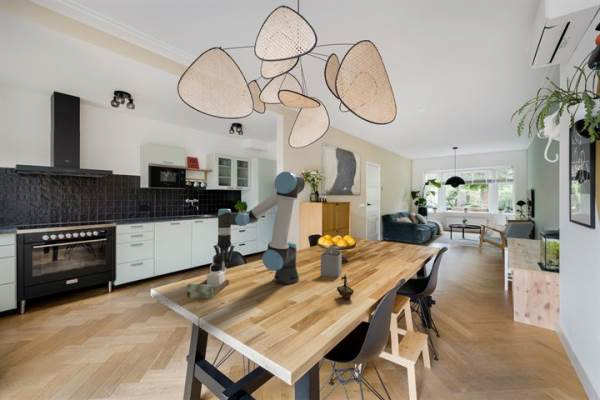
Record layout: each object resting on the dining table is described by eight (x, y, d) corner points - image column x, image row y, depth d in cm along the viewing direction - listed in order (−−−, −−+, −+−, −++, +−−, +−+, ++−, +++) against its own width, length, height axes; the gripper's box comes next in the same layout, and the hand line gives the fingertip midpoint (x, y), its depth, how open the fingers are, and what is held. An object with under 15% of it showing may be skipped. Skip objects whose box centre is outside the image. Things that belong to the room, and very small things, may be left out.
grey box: (327, 279, 147) (327, 248, 147) (320, 275, 154) (320, 245, 154) (348, 276, 154) (348, 246, 154) (341, 272, 161) (341, 243, 161)
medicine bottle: (224, 283, 138) (224, 262, 138) (218, 288, 131) (219, 266, 131) (212, 282, 139) (212, 262, 139) (206, 287, 132) (206, 265, 132)
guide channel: (228, 284, 137) (228, 273, 137) (211, 298, 118) (211, 286, 118) (207, 282, 139) (207, 272, 139) (187, 296, 119) (187, 284, 119)
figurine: (357, 301, 116) (357, 276, 116) (342, 303, 114) (342, 278, 114) (347, 293, 126) (347, 270, 126) (333, 295, 123) (334, 271, 123)
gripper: (237, 233, 148) (236, 271, 149) (217, 233, 150) (217, 270, 150) (231, 235, 141) (231, 275, 141) (211, 234, 143) (210, 274, 143)
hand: (224, 272), depth 146 cm, fingers closed
